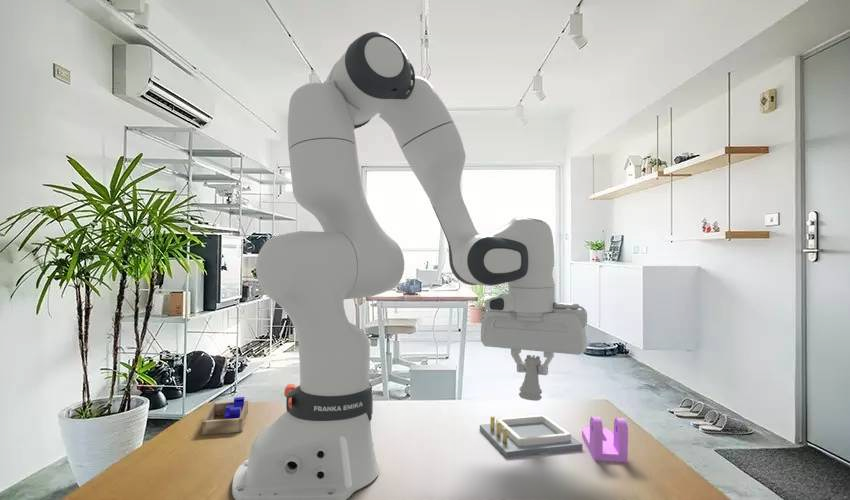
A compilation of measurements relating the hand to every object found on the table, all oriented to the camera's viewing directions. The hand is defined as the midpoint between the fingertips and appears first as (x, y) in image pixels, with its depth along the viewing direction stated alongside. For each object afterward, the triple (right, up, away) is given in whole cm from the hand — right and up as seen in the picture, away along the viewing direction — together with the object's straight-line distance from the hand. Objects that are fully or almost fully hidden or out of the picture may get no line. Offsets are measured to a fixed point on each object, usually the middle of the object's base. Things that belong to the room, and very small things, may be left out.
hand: (532, 373), depth 94 cm
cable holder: (-60, -12, +7) cm, 62 cm away
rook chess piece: (-1, -5, -1) cm, 5 cm away
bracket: (+12, -13, -4) cm, 18 cm away
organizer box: (-62, -12, +6) cm, 63 cm away
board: (-1, -12, -1) cm, 12 cm away
